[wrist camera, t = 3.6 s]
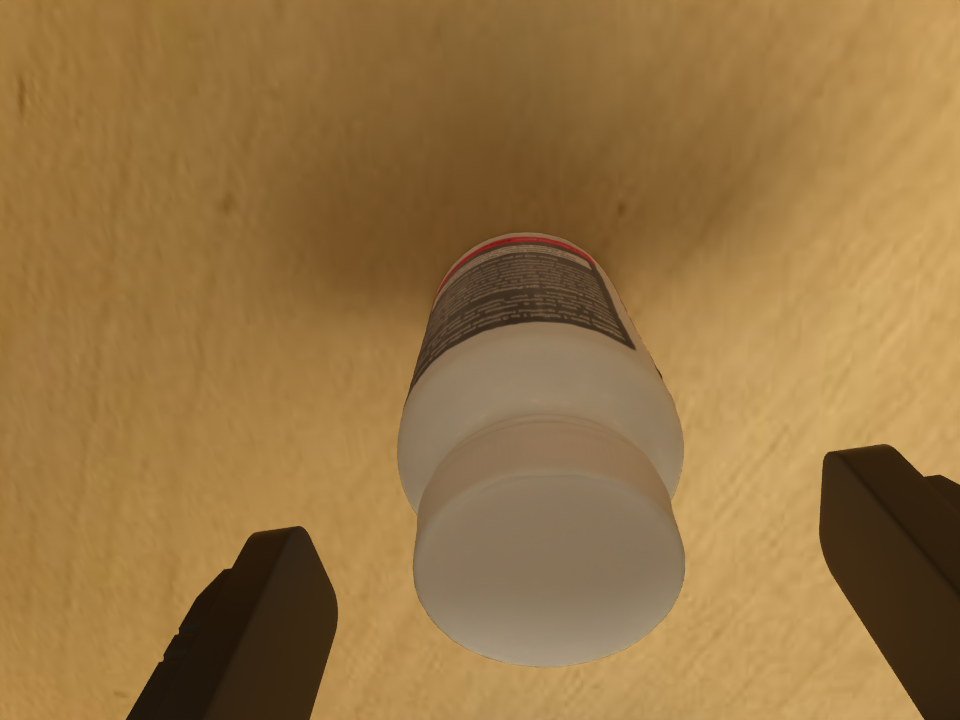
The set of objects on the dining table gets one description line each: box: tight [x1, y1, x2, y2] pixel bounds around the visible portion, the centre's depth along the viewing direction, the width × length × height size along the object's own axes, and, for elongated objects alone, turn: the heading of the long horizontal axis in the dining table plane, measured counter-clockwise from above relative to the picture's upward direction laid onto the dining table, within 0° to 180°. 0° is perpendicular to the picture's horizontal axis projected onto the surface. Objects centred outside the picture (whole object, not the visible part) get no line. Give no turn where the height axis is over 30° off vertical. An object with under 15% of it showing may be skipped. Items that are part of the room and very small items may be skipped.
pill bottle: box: [397, 232, 685, 667], centre depth 13 cm, size 5×5×10 cm
